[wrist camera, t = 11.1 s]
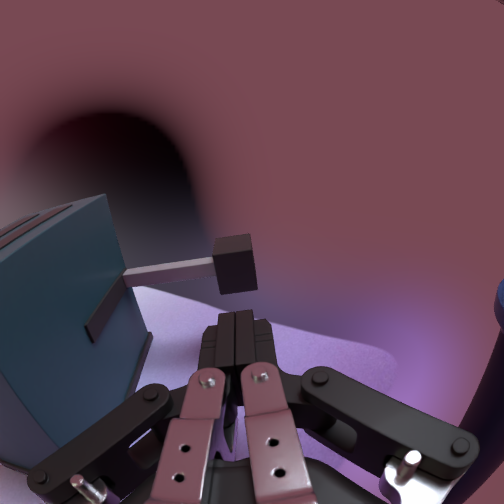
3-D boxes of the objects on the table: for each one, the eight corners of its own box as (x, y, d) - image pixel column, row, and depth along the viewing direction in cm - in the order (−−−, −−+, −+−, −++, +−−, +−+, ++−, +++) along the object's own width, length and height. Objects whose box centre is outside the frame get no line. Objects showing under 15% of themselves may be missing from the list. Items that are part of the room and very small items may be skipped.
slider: (255, 269, 23) (250, 233, 22) (258, 290, 20) (251, 249, 19) (137, 286, 23) (127, 252, 22) (126, 306, 20) (113, 269, 19)
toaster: (153, 337, 24) (109, 190, 20) (105, 495, 11) (-43, 293, 6) (72, 341, 24) (23, 214, 20) (3, 466, 11) (-110, 303, 6)
